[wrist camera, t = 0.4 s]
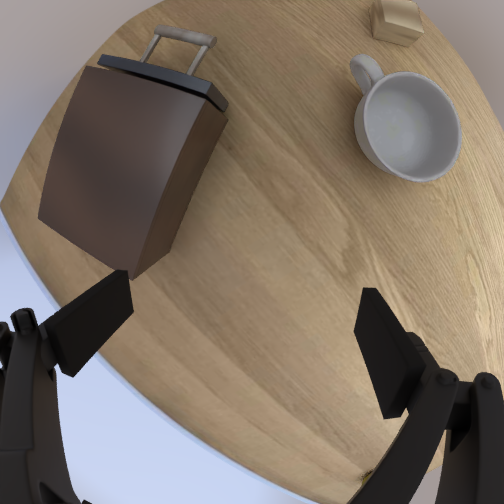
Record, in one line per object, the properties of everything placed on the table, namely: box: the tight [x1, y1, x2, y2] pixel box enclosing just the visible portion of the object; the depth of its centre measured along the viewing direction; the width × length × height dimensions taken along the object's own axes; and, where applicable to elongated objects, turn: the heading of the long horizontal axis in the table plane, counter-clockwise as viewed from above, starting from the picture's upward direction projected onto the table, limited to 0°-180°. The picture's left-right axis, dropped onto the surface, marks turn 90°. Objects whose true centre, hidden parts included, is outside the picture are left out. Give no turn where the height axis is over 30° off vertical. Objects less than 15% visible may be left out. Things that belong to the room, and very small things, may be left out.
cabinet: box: [38, 66, 228, 281], centre depth 26 cm, size 18×15×10 cm
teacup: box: [350, 54, 462, 182], centre depth 23 cm, size 14×11×8 cm
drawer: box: [97, 25, 229, 112], centre depth 25 cm, size 22×13×8 cm, turn 154°
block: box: [369, 0, 424, 47], centre depth 20 cm, size 5×5×5 cm
